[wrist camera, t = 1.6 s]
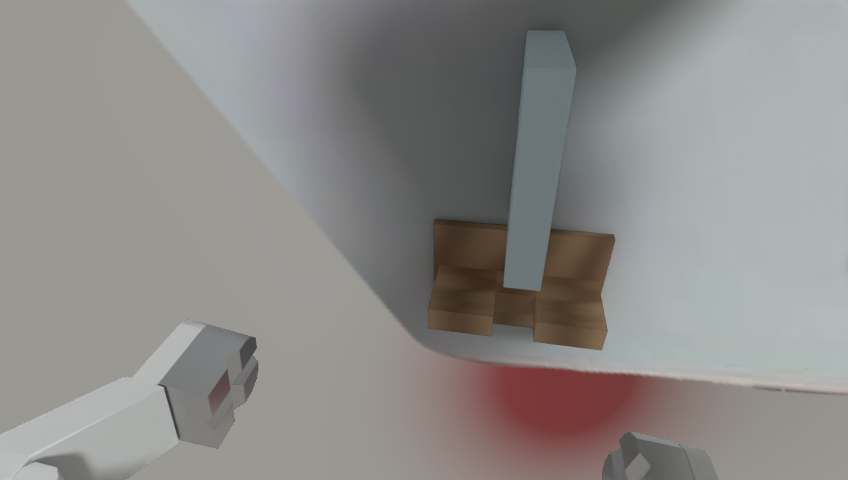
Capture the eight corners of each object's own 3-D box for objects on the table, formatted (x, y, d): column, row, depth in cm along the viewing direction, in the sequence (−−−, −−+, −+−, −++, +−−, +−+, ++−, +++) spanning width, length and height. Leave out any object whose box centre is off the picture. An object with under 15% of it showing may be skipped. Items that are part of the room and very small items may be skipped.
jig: (613, 234, 37) (628, 287, 32) (588, 328, 44) (597, 386, 38) (435, 219, 40) (420, 266, 34) (436, 310, 46) (423, 362, 41)
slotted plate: (527, 30, 30) (525, 67, 22) (564, 30, 30) (577, 69, 21) (508, 210, 38) (503, 287, 30) (538, 212, 37) (540, 291, 29)
